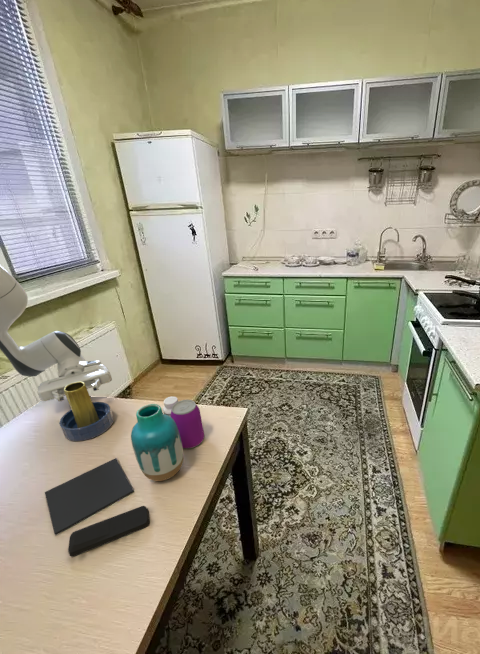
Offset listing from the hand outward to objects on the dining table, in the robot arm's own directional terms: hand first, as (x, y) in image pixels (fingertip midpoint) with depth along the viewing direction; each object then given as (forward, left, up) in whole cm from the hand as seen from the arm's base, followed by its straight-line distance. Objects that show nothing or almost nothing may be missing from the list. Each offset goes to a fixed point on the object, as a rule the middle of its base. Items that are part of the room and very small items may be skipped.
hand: (78, 393), depth 100 cm
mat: (-7, -34, -8) cm, 35 cm away
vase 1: (-1, -7, -8) cm, 11 cm away
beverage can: (+19, -34, -9) cm, 40 cm away
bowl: (-1, -7, -8) cm, 11 cm away
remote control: (-6, -48, -9) cm, 49 cm away
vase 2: (+9, -40, -9) cm, 42 cm away
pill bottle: (+19, -24, -9) cm, 32 cm away
